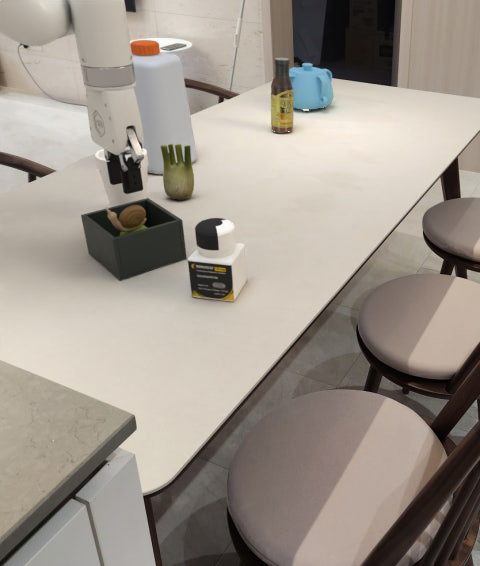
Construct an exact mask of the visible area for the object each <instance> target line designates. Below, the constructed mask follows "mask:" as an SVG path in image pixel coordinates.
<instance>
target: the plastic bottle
mask: <svg viewBox="0 0 480 566" xmlns="http://www.w3.org/2000/svg"><path fill="white" fill-rule="evenodd" d="M130 44H131V51H132V59H133V65H134V73H135V80H136V86H134V87H133V88H134V92H135V95H136V100H137V104H138V108H139V113H140V118H141V124H142V130H143V138H144V147H143V148H144V149H146V151H147V158H148V166H147V174H148V173H149V174H154V175H163V171H164V163H163V156H162V151H161V145H167V148H168V144H173V149H174V154H175V159H176V163H177V156H176V150H175V144H181V147H182V154H183V160H184V145H190V149H191V162H192V163H193V162H195V161H196V160H197V157H198V153H197V145H196V143H195V142H196V139H195V135H194V129H193V124H192V117H191V112H190V107H189V100H188V95H187V94H188V93H187V89H186V83H185V76H184V71H183V66H182V60H181V58H180V57H179V56H178V55H177V54H174V53H170V52H169V53H168V52H162V51H161V48H160V43H159V42H158V41H157V40H151V39H138V40H133V41H130ZM168 153H169V148H168ZM184 162H185V160H184Z"/></svg>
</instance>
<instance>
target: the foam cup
mask: <svg viewBox="0 0 480 566" xmlns="http://www.w3.org/2000/svg"><path fill="white" fill-rule="evenodd" d="M125 150H130V147H126V148H125ZM142 152H143V154H144V159H143V160H142V161H141V168H140V169H141V176H142V183H143V190H142V191H138V192H134V193H130V194H125V193H124V192H123V186H122V183H121V184H116V185H112V184H110V180H109V174H108V168H107V163H106V162H109V161H106V159H105V155H104V148H101V149H99V150H98V151H96V152H95V154H94V158H95V159H94V160H95V164H96V168H97V170H98V172H99V175H100V178H101V181H102V183H103V187H104V189H105V193H106V196H107V199H108V202H109V205H110V207H114V206H118V205H122V204H126V203H130V202H134V201H138V200H142V199H146V198H149V197H148V193H149V192H148V188H149V187H148V182H149V181H148V179H149V178H148V176H149V175H148V172H147V166H148V158H147V151H146V149H144V148H143V149H142ZM131 155H132V154H129V155H125V157H126V161H127V159H128V157H131Z"/></svg>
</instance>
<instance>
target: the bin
mask: <svg viewBox="0 0 480 566" xmlns="http://www.w3.org/2000/svg"><path fill="white" fill-rule="evenodd" d="M132 205H139V206H141V207H143V208H144V209H145V211H146V217H145V218H146V222H145V223H144V224H143V225H144V226H146V227H147V228H146V229H143V230H139V231H136V232H132V233H129V234H125V235H122V236H120V233H121V231H119V230H117V229H116V228H115V227H114V225H113V224H112V222H111V220H109V218H108V212H107V211H106V210H105V208H103V209H99V210H95V211H91V212H87V213H84V214H80V218H81V223H82V228H83V232H84V237H85V243H86V248H87V251H88V255H89V256H91V258H93V259H94V260H95V261H96V262H98V263H99V264H100V265H101V266H102V267H103V268H104V269H106V270H107V271H108V272H109V273H110V274H111V275H113V276H114V277H115V278H116V279H117V280H119V281H123V280H126V279H130V278H132V277H135V276H138V275H142V274H144V273H147V272H148V273H149V272H150V271H154V270H156V269H159V268H164V267H166V266H169V265H171V264H175V263H177V262H178V263H179V262H181V261H184V260H188V258H187V250H186V241H185V232H184V223H183V219H181V218H180V217H178V216H177V215H175V214H174V213H172V212H171V211H169V210H168V209H166V208H165V207H163V206H161V205H160V204H159V203H156V202H155V201H153V200H152V199H151V198H149V197H148V198H146V199H142V200H138V201H134V202H130V203H126V204H122V205H118V206H114V207H111V206H110V207H108V208H109V210H110V211H111V212H115V213H116V214H117V219H118V220H119V216H120V214H121V212H122V211H123V210H124V209H125V208H127V207H129V206H132Z"/></svg>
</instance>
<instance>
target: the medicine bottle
mask: <svg viewBox="0 0 480 566" xmlns="http://www.w3.org/2000/svg"><path fill="white" fill-rule="evenodd" d="M194 234H195V242H196V248H195V250H194V251H193V252H192V254H191V255H189V257H188V258H187V265H188V267H187V268H188V275H189V282H190V283H189V284H190V292H191V296H192V298H198V299H204V300H205V299H206V300H214V301H223V302H231V303H233V302H235V301H236V299H237V298H238V296H239V294H240V293H241V291H242V289H243V288H244V287H245V286H244V285H246V283H247V282H248V275H247V274H248V273H247V272H248V271H247V257H246V244H244V243H241V242H240V243H239V242H236V241H237V240H236V228H235V224H234V223H233V222H232V221H231V220H229V219H226V218H223V217H211V218H210V217H209V218H207V219H203V220H201V221H199V222H198V223H197V224H196V225H195V226H194Z"/></svg>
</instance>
